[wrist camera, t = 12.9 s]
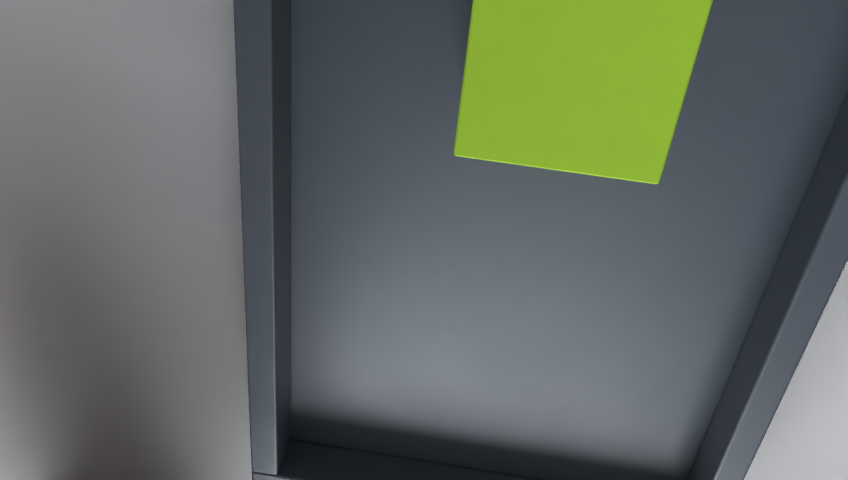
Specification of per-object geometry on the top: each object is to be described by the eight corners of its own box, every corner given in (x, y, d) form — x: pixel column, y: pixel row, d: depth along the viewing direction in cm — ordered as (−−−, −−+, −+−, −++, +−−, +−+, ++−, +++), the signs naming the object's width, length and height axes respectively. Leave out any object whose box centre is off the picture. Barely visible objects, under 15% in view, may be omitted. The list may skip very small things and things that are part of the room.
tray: (693, 506, 25) (704, 564, 23) (271, 437, 26) (251, 489, 24) (998, -202, 14) (1064, -193, 12) (258, -285, 15) (220, -288, 13)
